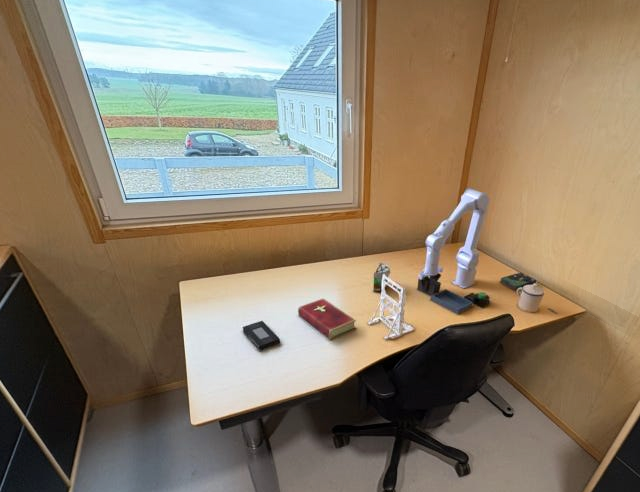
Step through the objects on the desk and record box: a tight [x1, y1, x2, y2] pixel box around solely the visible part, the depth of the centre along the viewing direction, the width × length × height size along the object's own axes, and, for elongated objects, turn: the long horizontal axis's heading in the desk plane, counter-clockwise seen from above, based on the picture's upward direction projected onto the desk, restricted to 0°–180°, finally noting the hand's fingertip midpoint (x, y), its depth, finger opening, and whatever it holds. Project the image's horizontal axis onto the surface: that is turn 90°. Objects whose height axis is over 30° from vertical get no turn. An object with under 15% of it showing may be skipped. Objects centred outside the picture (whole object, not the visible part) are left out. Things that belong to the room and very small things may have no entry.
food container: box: [373, 262, 391, 293], centre depth 164 cm, size 12×6×10 cm, turn 168°
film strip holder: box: [367, 274, 415, 341], centre depth 135 cm, size 14×14×20 cm
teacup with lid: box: [516, 283, 545, 313], centre depth 157 cm, size 12×9×12 cm
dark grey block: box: [416, 277, 442, 297], centre depth 165 cm, size 5×10×6 cm, turn 43°
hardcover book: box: [297, 298, 357, 341], centre depth 139 cm, size 12×21×4 cm, turn 43°
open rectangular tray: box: [430, 288, 474, 315], centre depth 158 cm, size 10×15×2 cm
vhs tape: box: [242, 320, 281, 352], centre depth 128 cm, size 8×14×2 cm, turn 40°
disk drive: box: [499, 272, 537, 291], centre depth 179 cm, size 10×3×15 cm
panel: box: [463, 292, 492, 309], centre depth 160 cm, size 6×10×4 cm, turn 43°
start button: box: [478, 291, 488, 299], centre depth 158 cm, size 4×4×2 cm
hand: (428, 289), depth 165 cm, fingers closed on dark grey block, 4 cm apart
